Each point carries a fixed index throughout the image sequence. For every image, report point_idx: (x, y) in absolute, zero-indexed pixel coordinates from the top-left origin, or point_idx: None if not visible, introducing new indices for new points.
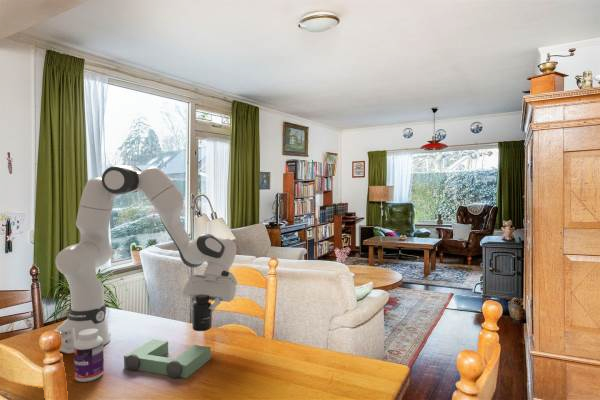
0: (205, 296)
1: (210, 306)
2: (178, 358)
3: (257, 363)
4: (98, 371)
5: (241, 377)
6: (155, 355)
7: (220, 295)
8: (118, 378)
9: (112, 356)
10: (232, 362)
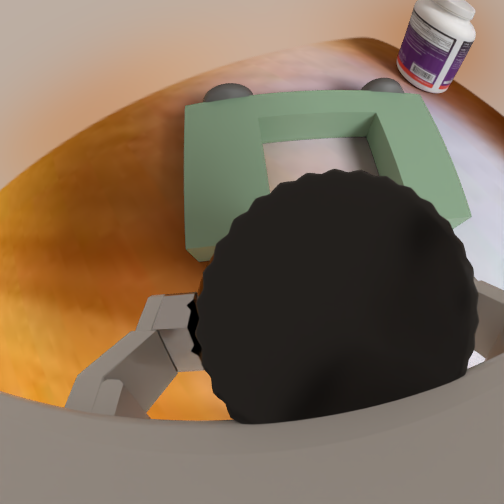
0: (237, 290)
1: (175, 308)
2: (244, 123)
3: (49, 292)
4: (400, 59)
5: (61, 203)
6: (383, 162)
7: (13, 409)
8: (364, 79)
9: (487, 159)
10: (112, 268)
